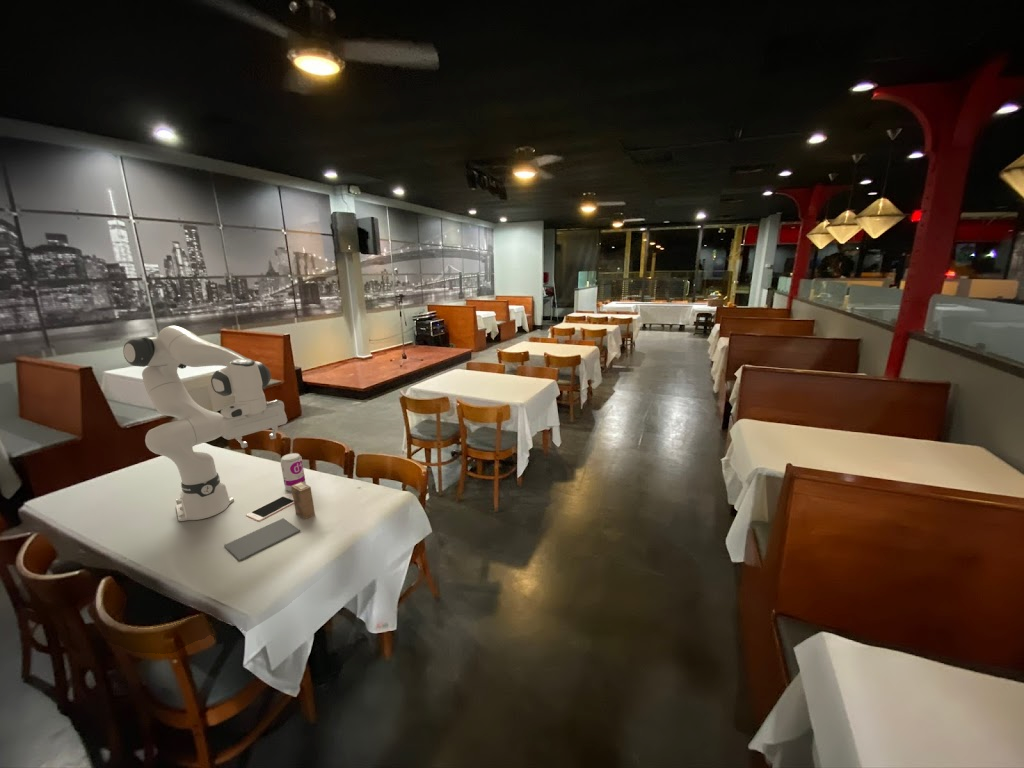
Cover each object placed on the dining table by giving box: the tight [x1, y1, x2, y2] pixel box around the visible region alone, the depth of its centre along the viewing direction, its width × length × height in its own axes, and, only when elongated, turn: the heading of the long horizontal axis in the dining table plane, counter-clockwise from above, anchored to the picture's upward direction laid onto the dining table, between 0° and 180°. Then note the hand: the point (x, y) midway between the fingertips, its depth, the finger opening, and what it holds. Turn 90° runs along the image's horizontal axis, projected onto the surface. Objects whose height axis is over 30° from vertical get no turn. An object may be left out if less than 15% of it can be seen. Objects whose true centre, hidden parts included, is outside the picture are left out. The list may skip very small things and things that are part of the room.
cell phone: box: [245, 493, 294, 522], centre depth 167 cm, size 9×18×1 cm, turn 152°
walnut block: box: [291, 482, 316, 520], centre depth 161 cm, size 7×4×12 cm, turn 53°
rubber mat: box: [223, 517, 301, 562], centre depth 147 cm, size 13×20×1 cm, turn 143°
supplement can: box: [280, 452, 307, 492], centre depth 180 cm, size 8×8×15 cm
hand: (259, 442), depth 146 cm, fingers open, 8 cm apart
